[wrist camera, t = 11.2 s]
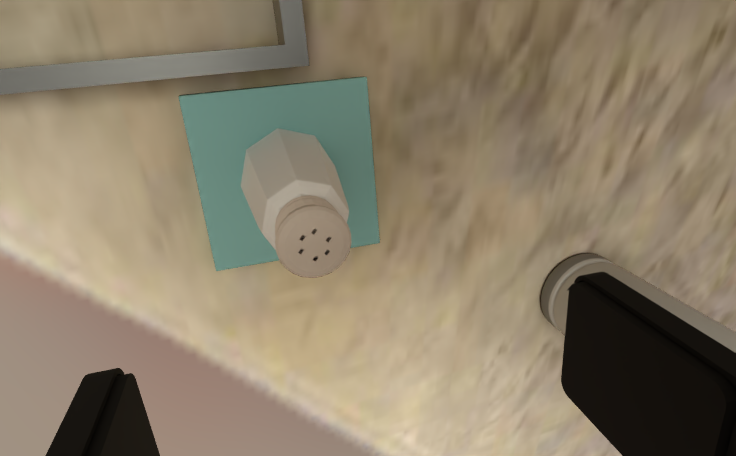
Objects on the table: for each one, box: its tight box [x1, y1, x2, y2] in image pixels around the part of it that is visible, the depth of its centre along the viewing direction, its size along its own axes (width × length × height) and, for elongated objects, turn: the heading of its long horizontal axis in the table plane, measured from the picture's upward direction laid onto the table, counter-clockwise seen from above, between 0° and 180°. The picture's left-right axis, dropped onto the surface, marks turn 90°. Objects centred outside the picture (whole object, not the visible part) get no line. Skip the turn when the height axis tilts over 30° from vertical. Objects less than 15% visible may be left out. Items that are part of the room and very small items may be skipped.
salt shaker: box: [241, 128, 352, 278], centre depth 22 cm, size 5×5×11 cm
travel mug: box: [541, 253, 736, 353], centre depth 27 cm, size 6×7×20 cm
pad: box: [178, 77, 380, 271], centre depth 28 cm, size 10×10×1 cm
